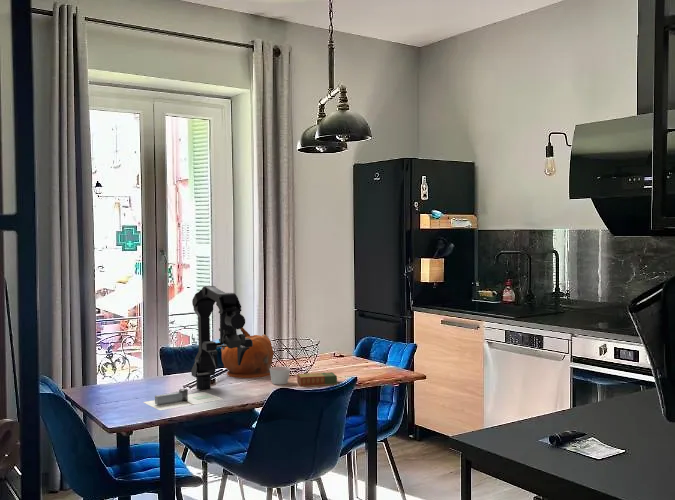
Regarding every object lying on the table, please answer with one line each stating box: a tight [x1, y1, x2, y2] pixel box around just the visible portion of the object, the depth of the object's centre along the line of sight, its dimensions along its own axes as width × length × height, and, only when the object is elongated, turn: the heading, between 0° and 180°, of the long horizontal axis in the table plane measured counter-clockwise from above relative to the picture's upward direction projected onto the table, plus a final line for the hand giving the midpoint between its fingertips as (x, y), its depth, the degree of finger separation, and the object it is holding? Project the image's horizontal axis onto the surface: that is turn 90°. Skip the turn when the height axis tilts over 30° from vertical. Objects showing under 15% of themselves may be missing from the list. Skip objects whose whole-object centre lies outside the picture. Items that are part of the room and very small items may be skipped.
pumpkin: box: [220, 326, 275, 379], centre depth 316 cm, size 22×25×23 cm
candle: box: [269, 366, 291, 385], centre depth 295 cm, size 9×9×6 cm
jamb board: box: [142, 391, 224, 411], centre depth 261 cm, size 16×26×1 cm, turn 128°
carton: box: [296, 372, 338, 387], centre depth 294 cm, size 8×16×4 cm, turn 104°
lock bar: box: [154, 388, 189, 405], centre depth 258 cm, size 13×3×4 cm, turn 128°
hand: (227, 366), depth 260 cm, fingers open, 9 cm apart
